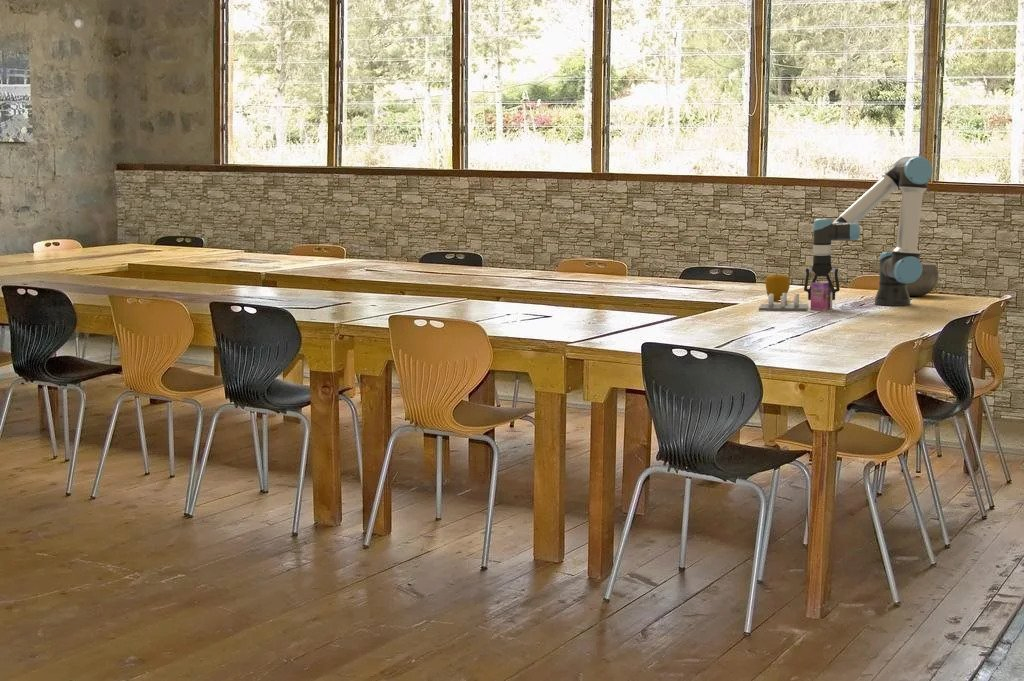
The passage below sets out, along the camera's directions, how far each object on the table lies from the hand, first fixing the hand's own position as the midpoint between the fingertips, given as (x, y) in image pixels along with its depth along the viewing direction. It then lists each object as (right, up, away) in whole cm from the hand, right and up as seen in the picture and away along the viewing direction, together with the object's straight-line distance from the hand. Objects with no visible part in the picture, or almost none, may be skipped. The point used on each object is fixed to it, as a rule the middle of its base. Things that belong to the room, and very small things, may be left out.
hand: (821, 307), depth 548 cm
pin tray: (-15, 0, +4) cm, 16 cm away
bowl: (+56, +7, +51) cm, 76 cm away
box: (0, -1, 0) cm, 1 cm away
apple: (-10, +4, +42) cm, 43 cm away
